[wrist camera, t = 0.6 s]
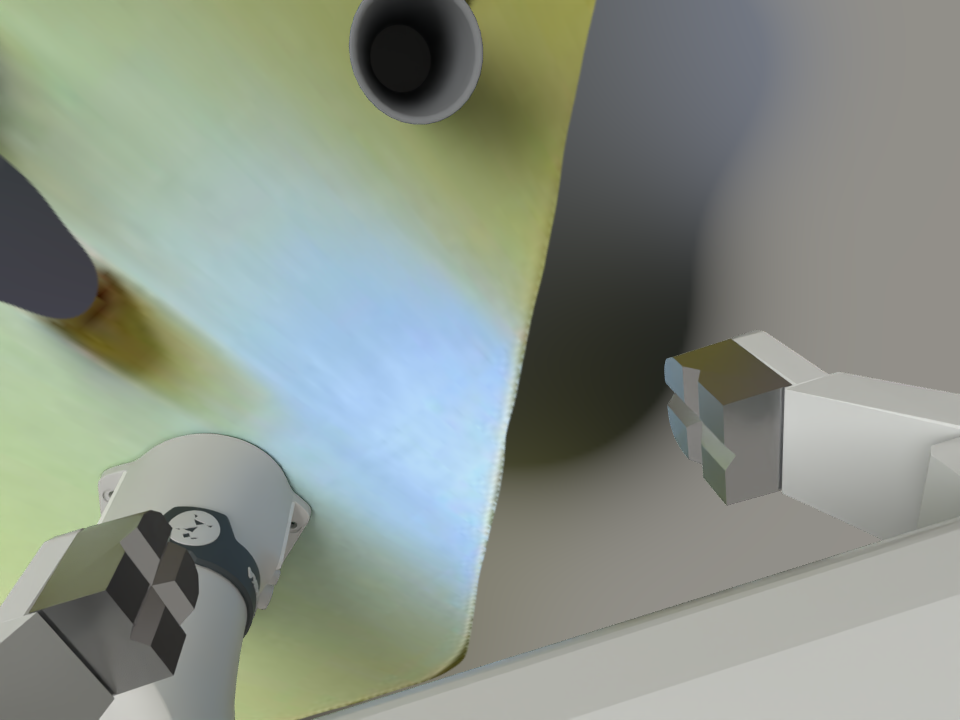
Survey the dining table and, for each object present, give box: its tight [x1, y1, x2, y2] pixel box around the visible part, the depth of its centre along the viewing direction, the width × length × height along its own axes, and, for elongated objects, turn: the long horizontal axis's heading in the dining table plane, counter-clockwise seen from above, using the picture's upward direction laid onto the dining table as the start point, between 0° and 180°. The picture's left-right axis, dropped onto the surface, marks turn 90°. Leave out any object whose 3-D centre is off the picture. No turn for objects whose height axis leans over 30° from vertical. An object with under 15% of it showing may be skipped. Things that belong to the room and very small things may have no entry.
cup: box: [349, 0, 483, 124], centre depth 37 cm, size 7×7×15 cm
